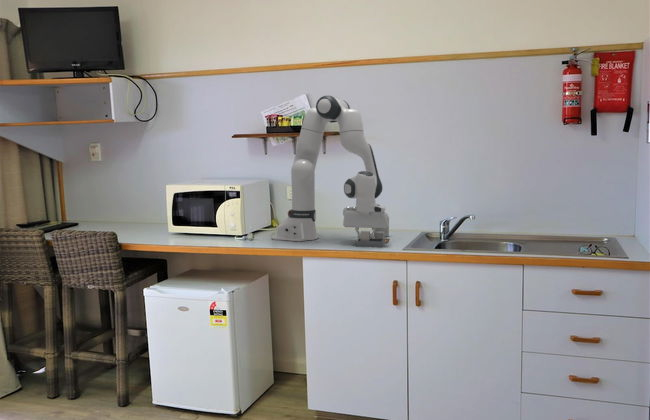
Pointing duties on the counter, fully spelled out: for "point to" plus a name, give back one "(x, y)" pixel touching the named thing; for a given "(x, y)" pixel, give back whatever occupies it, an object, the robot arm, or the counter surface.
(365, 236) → the stone
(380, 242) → the bin
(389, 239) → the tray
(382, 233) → the stone
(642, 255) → the counter surface
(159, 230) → the counter surface
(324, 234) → the counter surface
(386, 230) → the can
